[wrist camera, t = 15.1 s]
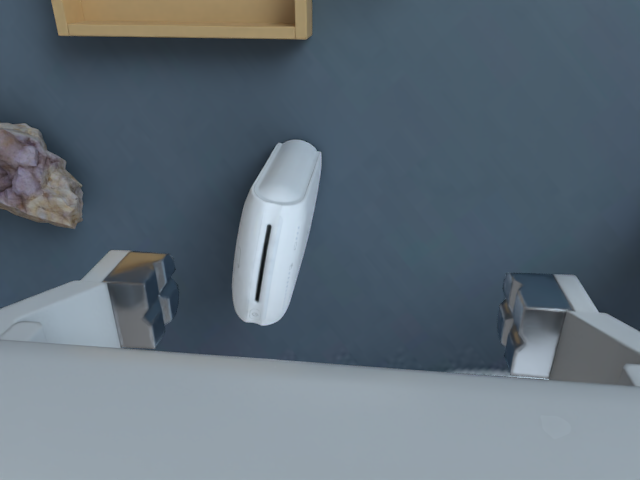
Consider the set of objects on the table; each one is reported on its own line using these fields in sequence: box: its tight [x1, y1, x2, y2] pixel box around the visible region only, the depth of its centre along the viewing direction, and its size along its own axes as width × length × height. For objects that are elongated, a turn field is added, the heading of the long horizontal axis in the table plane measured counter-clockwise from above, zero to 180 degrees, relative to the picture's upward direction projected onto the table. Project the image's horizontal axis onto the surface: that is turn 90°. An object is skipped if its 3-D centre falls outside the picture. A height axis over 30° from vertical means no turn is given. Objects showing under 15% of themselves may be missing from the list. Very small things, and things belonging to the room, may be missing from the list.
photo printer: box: [232, 140, 322, 326], centre depth 38 cm, size 10×4×12 cm, turn 169°
